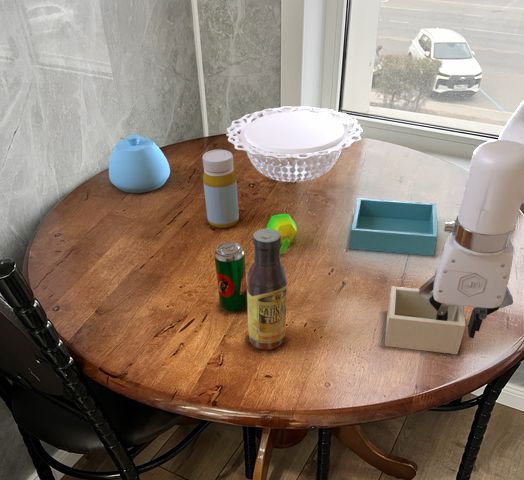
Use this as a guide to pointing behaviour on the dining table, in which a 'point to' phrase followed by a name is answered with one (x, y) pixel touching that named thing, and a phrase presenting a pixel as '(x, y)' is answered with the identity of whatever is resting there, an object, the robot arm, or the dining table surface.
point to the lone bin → (422, 323)
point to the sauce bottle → (266, 292)
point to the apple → (283, 229)
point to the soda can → (231, 276)
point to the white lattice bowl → (294, 140)
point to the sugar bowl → (138, 165)
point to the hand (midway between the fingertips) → (455, 330)
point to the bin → (394, 226)
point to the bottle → (220, 189)
